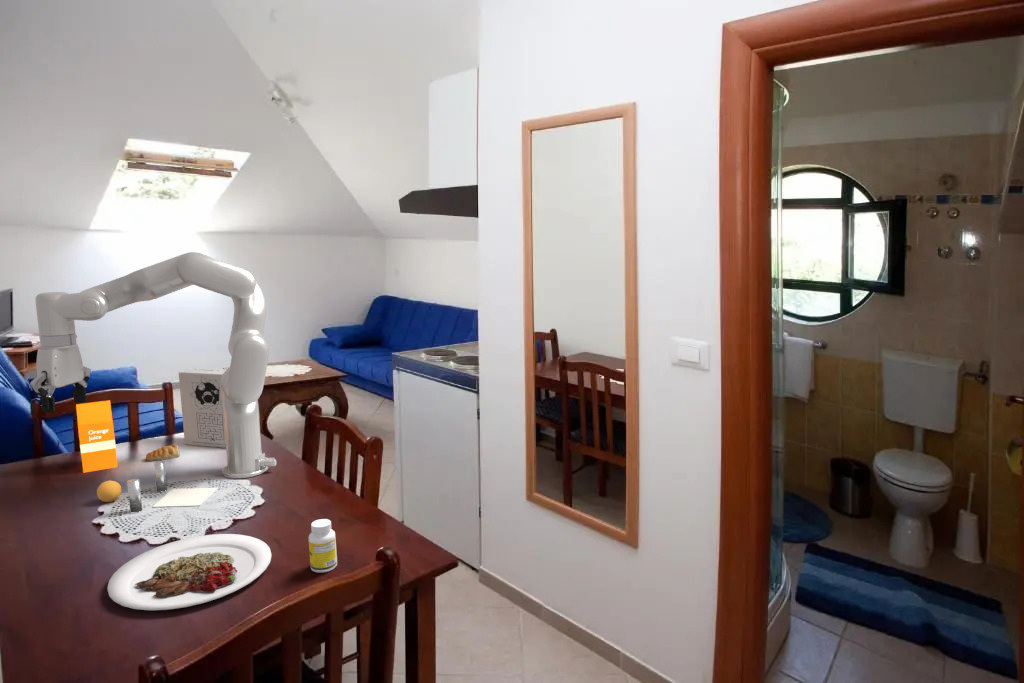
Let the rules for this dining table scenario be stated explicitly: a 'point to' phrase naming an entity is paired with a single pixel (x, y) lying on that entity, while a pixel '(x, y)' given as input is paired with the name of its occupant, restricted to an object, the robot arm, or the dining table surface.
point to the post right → (160, 476)
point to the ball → (109, 491)
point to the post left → (134, 495)
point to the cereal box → (202, 407)
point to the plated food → (189, 572)
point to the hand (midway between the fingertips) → (65, 407)
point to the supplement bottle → (322, 546)
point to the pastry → (163, 453)
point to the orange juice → (96, 436)
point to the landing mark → (185, 497)
